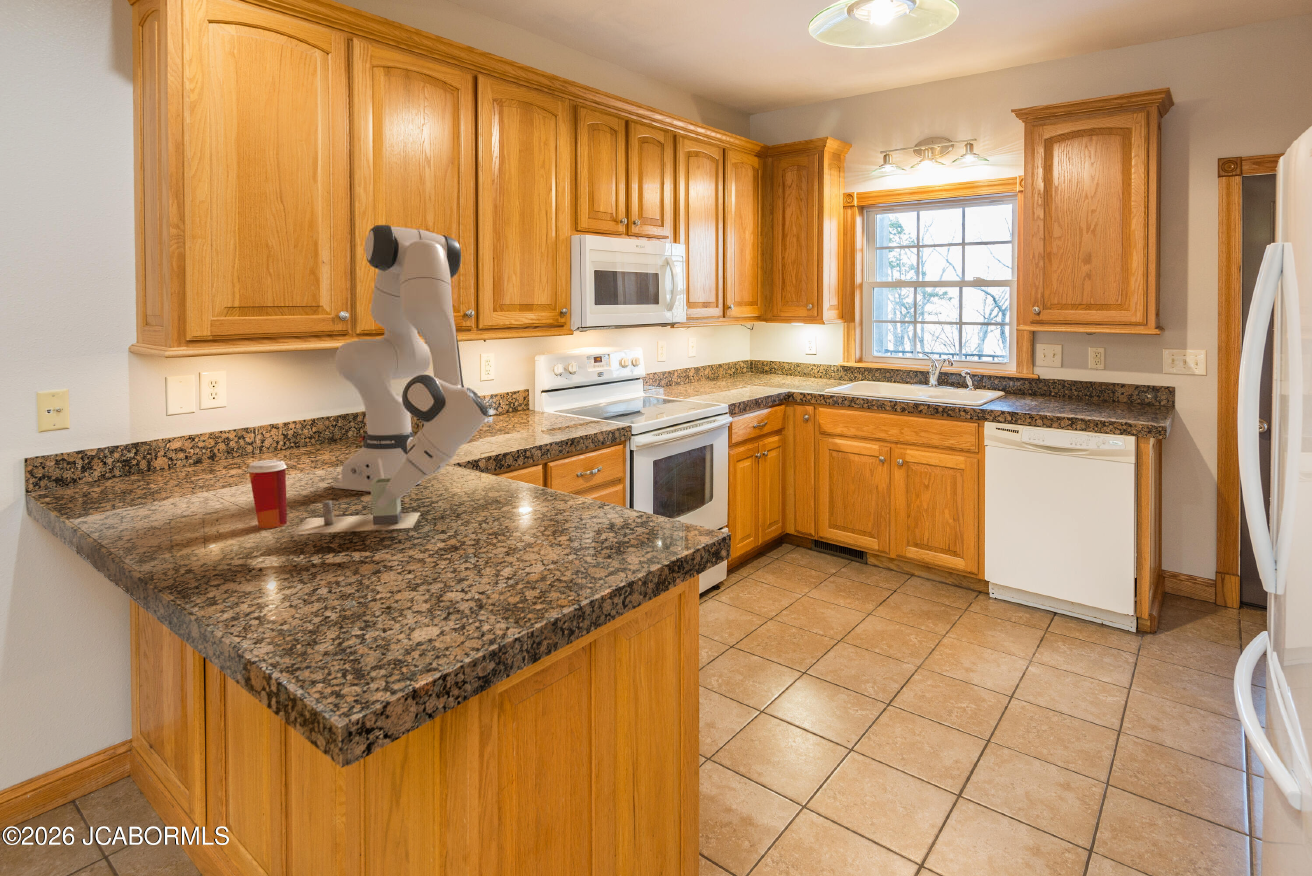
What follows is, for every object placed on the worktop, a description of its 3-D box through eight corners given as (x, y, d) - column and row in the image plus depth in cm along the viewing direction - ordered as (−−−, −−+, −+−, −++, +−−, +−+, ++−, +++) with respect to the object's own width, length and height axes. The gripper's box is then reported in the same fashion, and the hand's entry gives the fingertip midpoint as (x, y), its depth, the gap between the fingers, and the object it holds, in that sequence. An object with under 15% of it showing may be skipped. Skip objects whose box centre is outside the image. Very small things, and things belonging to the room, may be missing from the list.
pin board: (291, 541, 155) (288, 510, 154) (307, 525, 167) (304, 496, 166) (413, 534, 159) (411, 504, 158) (420, 518, 171) (418, 490, 170)
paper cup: (280, 518, 172) (274, 457, 170) (299, 523, 168) (293, 461, 166) (245, 526, 166) (238, 463, 164) (264, 532, 162) (257, 467, 159)
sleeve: (373, 525, 161) (370, 483, 159) (377, 518, 166) (374, 478, 164) (398, 523, 162) (395, 482, 160) (401, 517, 167) (398, 477, 165)
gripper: (422, 435, 172) (380, 479, 172) (409, 452, 152) (362, 501, 152) (444, 453, 174) (402, 497, 174) (434, 472, 154) (386, 522, 154)
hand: (383, 499), depth 163 cm, fingers open, 8 cm apart
